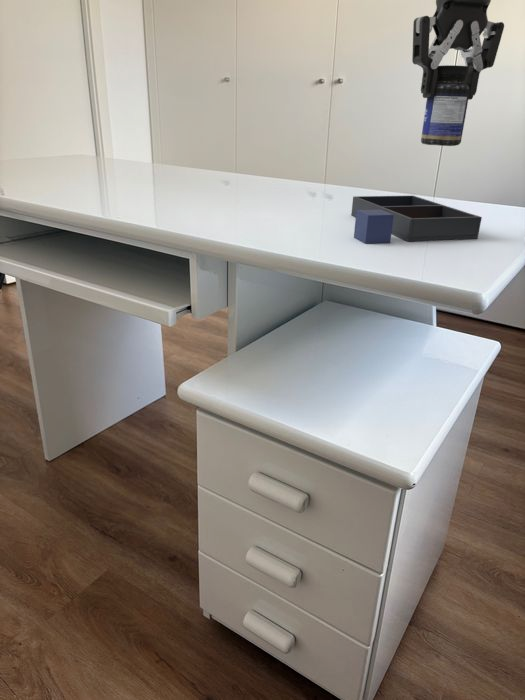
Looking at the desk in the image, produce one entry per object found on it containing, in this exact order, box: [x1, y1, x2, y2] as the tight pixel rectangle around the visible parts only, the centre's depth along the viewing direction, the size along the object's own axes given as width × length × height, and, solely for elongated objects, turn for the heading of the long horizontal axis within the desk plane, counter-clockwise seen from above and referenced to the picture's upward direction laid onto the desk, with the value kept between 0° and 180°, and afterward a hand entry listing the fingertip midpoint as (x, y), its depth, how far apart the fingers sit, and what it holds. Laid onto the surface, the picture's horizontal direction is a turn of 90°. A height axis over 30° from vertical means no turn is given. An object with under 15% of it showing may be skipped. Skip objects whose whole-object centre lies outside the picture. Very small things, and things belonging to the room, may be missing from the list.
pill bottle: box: [420, 64, 470, 147], centre depth 82 cm, size 6×6×11 cm
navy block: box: [353, 210, 394, 245], centre depth 86 cm, size 4×4×4 cm
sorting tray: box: [350, 195, 483, 242], centre depth 97 cm, size 13×22×4 cm, turn 16°
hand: (447, 98), depth 82 cm, fingers closed on pill bottle, 6 cm apart
